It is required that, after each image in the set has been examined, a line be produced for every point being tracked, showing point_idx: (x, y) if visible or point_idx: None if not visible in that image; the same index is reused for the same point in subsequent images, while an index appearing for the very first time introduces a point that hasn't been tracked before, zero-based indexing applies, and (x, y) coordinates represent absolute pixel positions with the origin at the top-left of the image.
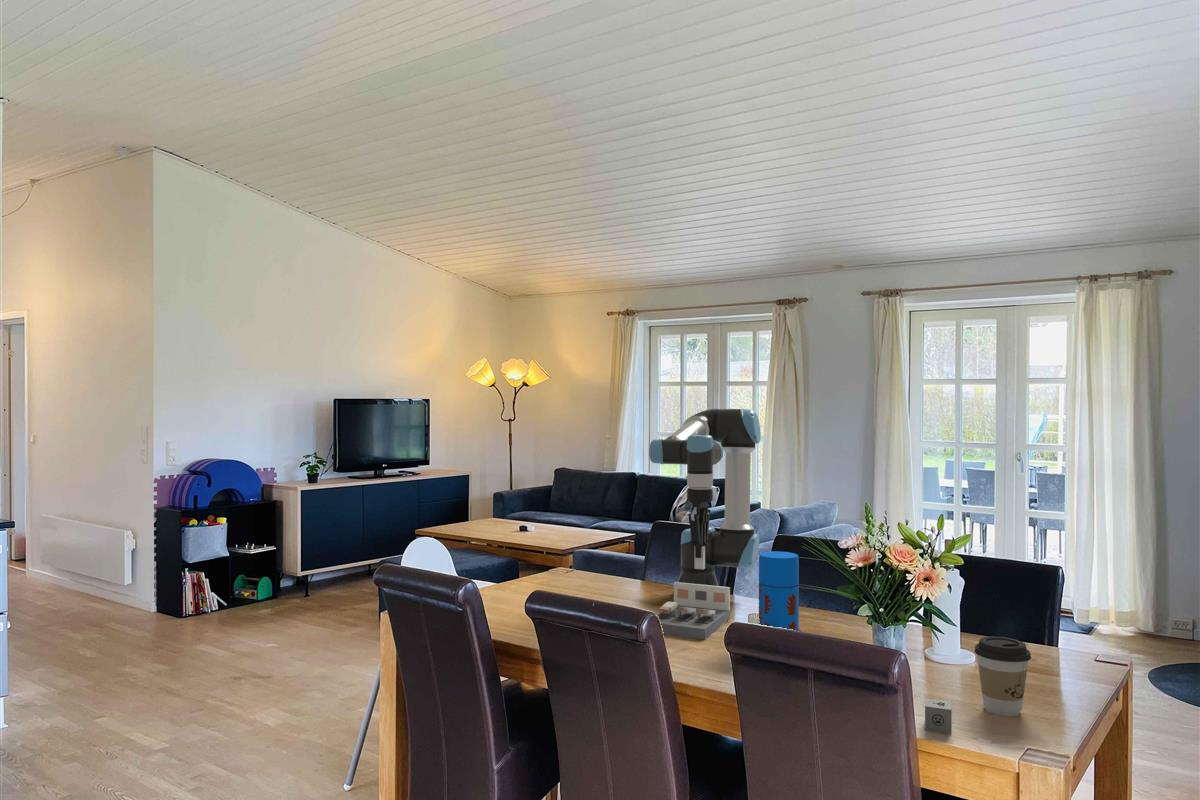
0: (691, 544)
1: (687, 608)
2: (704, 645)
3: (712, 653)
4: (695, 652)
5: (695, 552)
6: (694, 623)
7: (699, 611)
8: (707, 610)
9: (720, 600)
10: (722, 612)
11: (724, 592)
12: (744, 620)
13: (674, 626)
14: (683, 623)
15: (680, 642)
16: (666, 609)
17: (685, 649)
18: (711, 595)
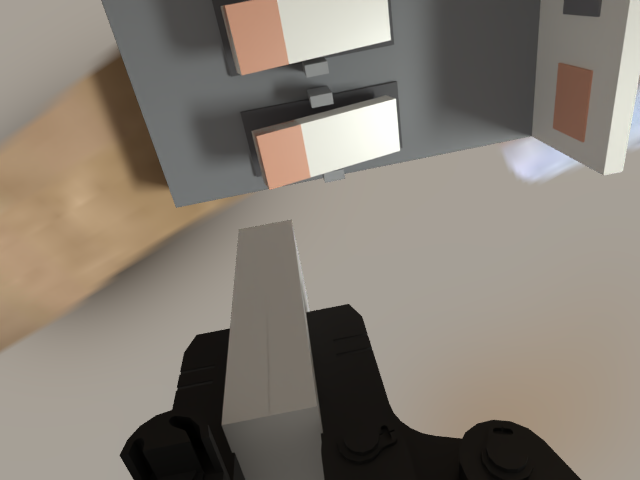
0: (122, 458)
1: (241, 74)
2: (116, 224)
3: (58, 290)
4: (14, 243)
5: (175, 395)
6: (224, 120)
7: (256, 147)
8: (276, 186)
9: (559, 105)
10: (488, 127)
11: (588, 139)
12: (536, 174)
13: (122, 52)
14: (185, 74)
15: (71, 127)
16: None
17: (10, 195)
18: (581, 51)
